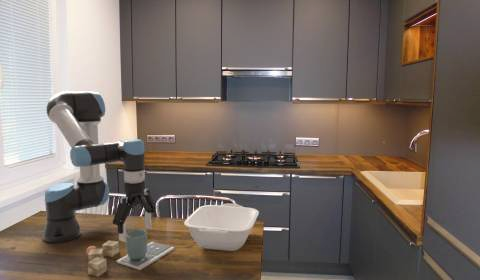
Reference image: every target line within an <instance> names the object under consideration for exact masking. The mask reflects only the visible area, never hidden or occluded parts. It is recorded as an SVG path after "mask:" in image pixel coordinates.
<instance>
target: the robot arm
mask: <svg viewBox="0 0 480 280" xmlns="http://www.w3.org/2000/svg"><path fill="white" fill-rule="evenodd" d="M46 114H47V116H48V118H49V121H51V122H52V123H53V124H55V125H56V126H57V128H58V129H59V131H60V132H61V134H62V135H63V137H64V139H65V140H66V142H67V143H68V146H69V147H70V148H71V149H70V153H69V157H70V161H71V164H72V165H73V166H74V167H75V168H76V167H79V177H78V179H77V180H76V184H75V185H74V183H72V182H65V183H64V182H62V183H57V184H55V185H51V186H50V187H48V188H47V189H46V190H45V192H44V206H45V216H46V217H45V218H46V223H45V227H44V231H43V234H42V238H43V239H42V240H43V241H45V242H46V243H53V244H54V243H64V242H69V241H72V240H74V239H77V238H78V237H80V236H81V232H82V231H81V227H80V224H79V222H78V220H77V217H76V212H77V211H81V210H86V209H91V208H97V207H100V206H103V205H105V204H106V203H107V201H108V200H109V195H110V188H109V183H108V182H107V181H106V180H104V177H103V176H102V175H101V171H100V165H102V164H110V163H117V162H118V163H119V162H121V163H123V180H124V185H123V186H124V189H123V190H124V192H125V196H120V197H118V205H117V207H116V210H115V214H114V217H113V220H112V224H113V225H115V226H117V233H118V241H120V242H124V243H126V233H127V231H126V228H127V227H126V223H125V222H126V221H127V218H128V216H129V214H130V213H131V210H132V209H133V208H134V207H136V206H137V205H141V207H142V208H143V209H144V210H145V212H144V228H145V229H149V230H152V221H153V213H155V210H156V209H157V206H156V204H155V202H154V199H153V197H152V195H151V189H149V188H146V181H145V178H146V175H145V174H146V173H145V172H146V171H145V167H146V166H145V165H146V164H145V163H146V162H145V157H146V153H145V152H146V150H145V142H144V141H143V140H142V139H140V138H139V139H138V138H131V139H130V138H129V139H125V140H124V141H123V140H113V141H111V142H106V143H99V128H98V125H99V124H100V123H101V121H102V119H101V118H103V117H104V116H105V114H106V104H105V101H104V98H103V97H102V96H101V94H100V93H99V92H97V91H95V92H94V91H61V92H58V93H56V94H55V95H53V96H52V97H51V98H50V99H49V100H48V102H47V105H46Z"/></svg>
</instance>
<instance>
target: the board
mask: <svg viewBox="0 0 480 280" xmlns="http://www.w3.org/2000/svg"><path fill="white" fill-rule="evenodd" d="M174 250H175V247H174V246H170V245H168V244H167V245H166V244H163V243H159V242H156V241H151V242H149V243H147V252H146V255H145V256H144V257H143V258H142V259H139V260H133V259H130V258H129V257H128V254H126V255H124V256H123V257H121V258H119V259H117V260H116V263H117V264H119V265H123V266H125V267H128V268H132V269H135V270H138V271H141V270H143V269H144V268H146V267H148V266H149V265H151V264H153V263H154V262H156V261H158V260H159V259H161V258H163V257H164V256H165V255H167V254H169V253H170V252H172V251H174Z"/></svg>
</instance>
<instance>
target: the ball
mask: <svg viewBox="0 0 480 280" xmlns="http://www.w3.org/2000/svg"><path fill="white" fill-rule="evenodd" d="M91 249H98V248H97V247H96V246H95V245H90V246H89V247H87V248H86V255H87V256H88V254H89V252H90V250H91Z"/></svg>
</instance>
